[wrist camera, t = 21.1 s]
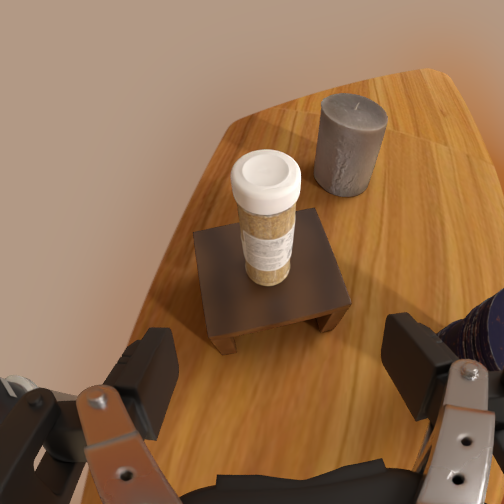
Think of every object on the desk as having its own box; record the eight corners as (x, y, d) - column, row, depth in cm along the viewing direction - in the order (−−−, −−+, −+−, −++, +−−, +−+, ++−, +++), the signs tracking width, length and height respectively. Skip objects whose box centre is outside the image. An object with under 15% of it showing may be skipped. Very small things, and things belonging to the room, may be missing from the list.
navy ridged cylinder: (405, 354, 33) (470, 316, 20) (453, 318, 34) (517, 269, 21) (436, 415, 28) (512, 405, 15) (483, 373, 30) (555, 344, 17)
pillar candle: (369, 164, 49) (388, 95, 36) (366, 204, 45) (392, 129, 32) (317, 152, 51) (325, 80, 38) (307, 190, 47) (316, 112, 34)
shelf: (222, 355, 35) (208, 337, 27) (207, 269, 41) (192, 232, 33) (334, 329, 35) (352, 303, 28) (307, 247, 41) (314, 207, 34)
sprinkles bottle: (257, 241, 32) (249, 140, 20) (297, 257, 31) (311, 157, 19) (237, 277, 30) (216, 183, 18) (279, 295, 29) (285, 206, 17)
